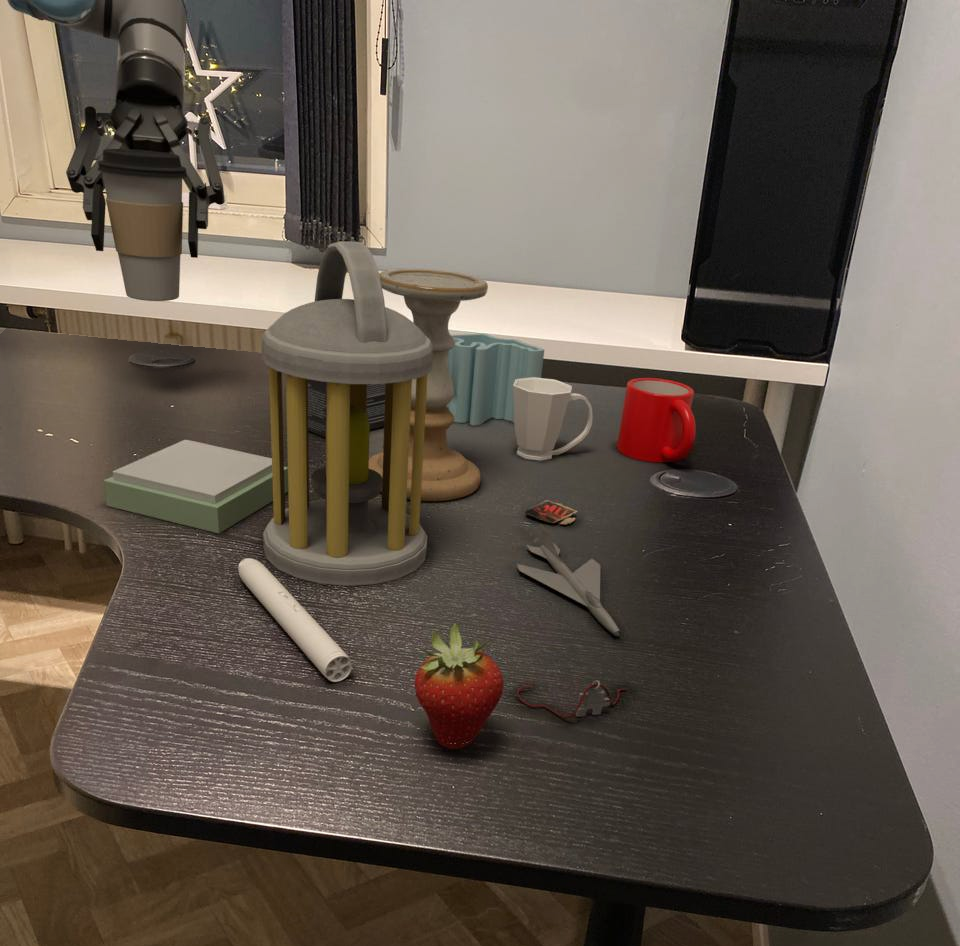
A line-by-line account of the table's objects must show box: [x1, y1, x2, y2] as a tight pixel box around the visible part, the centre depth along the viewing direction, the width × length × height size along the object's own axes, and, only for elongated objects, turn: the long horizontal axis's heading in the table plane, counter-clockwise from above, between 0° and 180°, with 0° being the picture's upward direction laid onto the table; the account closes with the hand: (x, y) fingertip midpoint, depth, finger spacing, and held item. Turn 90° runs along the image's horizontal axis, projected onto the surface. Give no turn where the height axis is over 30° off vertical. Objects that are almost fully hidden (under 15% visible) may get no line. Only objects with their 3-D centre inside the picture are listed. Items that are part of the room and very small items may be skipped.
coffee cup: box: [97, 148, 188, 302], centre depth 104 cm, size 9×9×15 cm
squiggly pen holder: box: [446, 333, 545, 427], centre depth 114 cm, size 18×10×9 cm, turn 116°
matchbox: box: [524, 499, 578, 525], centre depth 90 cm, size 5×5×1 cm
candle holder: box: [369, 268, 489, 502], centre depth 91 cm, size 12×12×20 cm
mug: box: [616, 377, 697, 463], centre depth 108 cm, size 8×12×8 cm, turn 24°
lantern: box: [261, 241, 433, 587], centre depth 74 cm, size 14×14×25 cm
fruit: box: [414, 622, 505, 750], centre depth 55 cm, size 5×5×8 cm
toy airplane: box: [516, 524, 621, 637], centre depth 78 cm, size 8×21×2 cm, turn 18°
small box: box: [308, 379, 386, 439], centre depth 107 cm, size 11×6×10 cm, turn 138°
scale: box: [103, 439, 288, 534], centre depth 86 cm, size 12×12×3 cm
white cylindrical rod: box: [237, 557, 353, 683], centre depth 68 cm, size 18×2×2 cm, turn 33°
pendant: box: [516, 680, 628, 719], centre depth 61 cm, size 8×4×3 cm, turn 107°
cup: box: [513, 377, 594, 462], centre depth 105 cm, size 7×10×8 cm
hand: (145, 246), depth 102 cm, fingers closed on coffee cup, 9 cm apart
